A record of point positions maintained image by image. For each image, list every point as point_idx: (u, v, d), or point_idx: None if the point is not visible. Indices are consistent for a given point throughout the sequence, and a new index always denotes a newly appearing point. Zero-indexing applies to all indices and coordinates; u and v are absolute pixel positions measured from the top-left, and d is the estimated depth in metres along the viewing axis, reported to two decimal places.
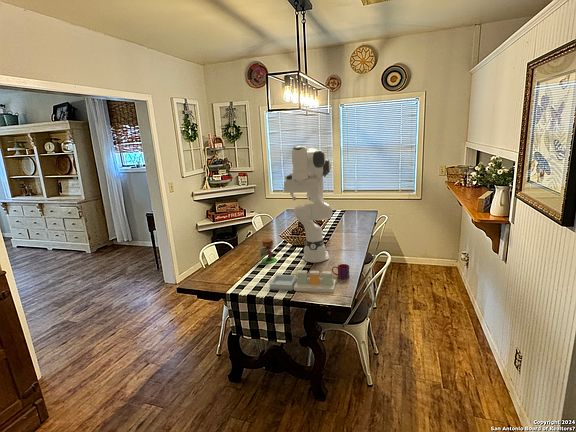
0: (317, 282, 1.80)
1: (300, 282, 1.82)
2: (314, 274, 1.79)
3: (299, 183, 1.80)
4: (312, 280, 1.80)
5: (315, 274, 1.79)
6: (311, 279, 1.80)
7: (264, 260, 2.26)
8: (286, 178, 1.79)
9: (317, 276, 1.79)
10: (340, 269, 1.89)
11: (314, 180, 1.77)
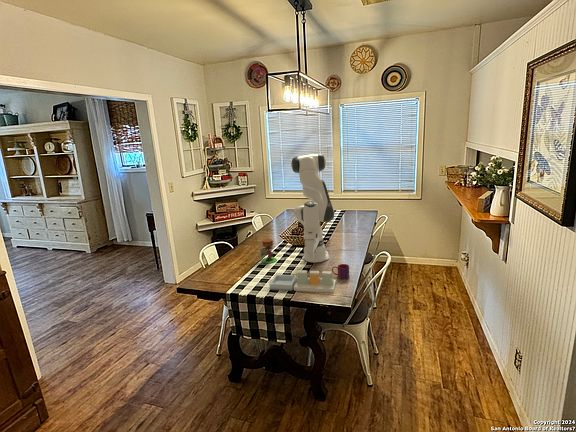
0: (317, 282, 1.80)
1: (300, 282, 1.82)
2: (314, 274, 1.79)
3: (315, 239, 1.74)
4: (312, 280, 1.80)
5: (315, 274, 1.79)
6: (311, 279, 1.80)
7: (264, 260, 2.26)
8: (315, 237, 1.67)
9: (317, 276, 1.79)
10: (340, 269, 1.89)
11: None
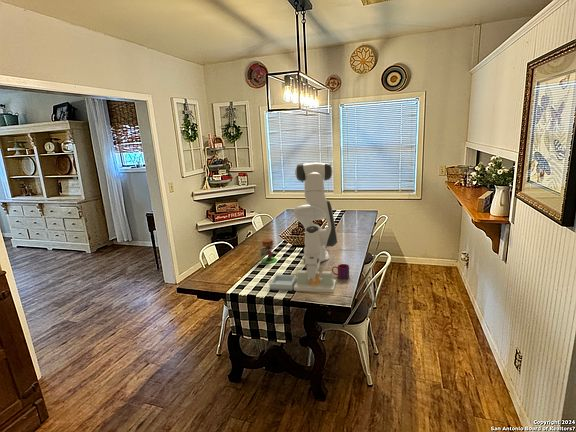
0: (317, 282, 1.80)
1: (300, 282, 1.82)
2: None
3: (316, 263, 1.78)
4: None
5: None
6: (311, 279, 1.80)
7: (264, 260, 2.26)
8: (317, 262, 1.70)
9: (317, 276, 1.79)
10: (340, 269, 1.89)
11: None
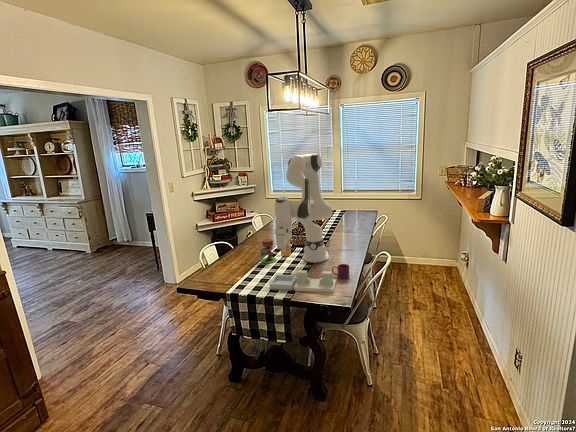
0: (288, 253, 1.80)
1: (300, 282, 1.82)
2: None
3: (286, 234, 1.78)
4: (282, 251, 1.80)
5: (286, 245, 1.79)
6: (282, 250, 1.80)
7: (264, 260, 2.26)
8: (286, 232, 1.70)
9: (288, 247, 1.79)
10: (340, 269, 1.89)
11: None
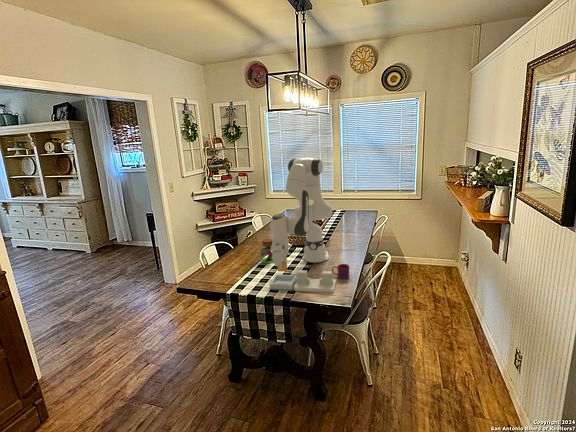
0: (284, 269, 1.82)
1: (300, 282, 1.82)
2: None
3: (283, 250, 1.81)
4: None
5: (282, 261, 1.82)
6: (278, 266, 1.83)
7: (264, 260, 2.26)
8: (282, 249, 1.73)
9: (284, 263, 1.82)
10: (340, 269, 1.89)
11: None
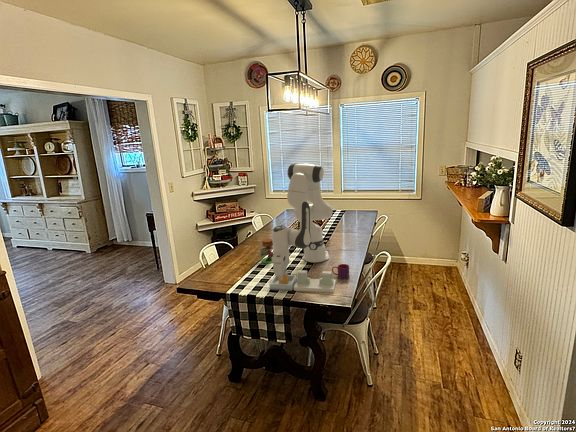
0: (285, 282, 1.85)
1: (300, 282, 1.82)
2: (282, 274, 1.84)
3: (284, 261, 1.82)
4: (280, 280, 1.85)
5: (283, 274, 1.84)
6: (279, 279, 1.85)
7: (264, 260, 2.26)
8: (283, 261, 1.75)
9: (285, 276, 1.84)
10: (340, 269, 1.89)
11: None
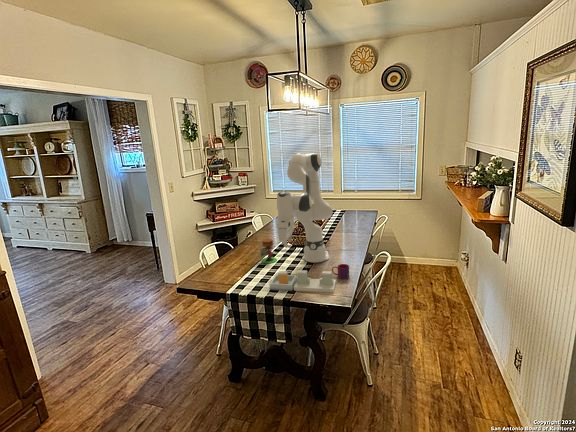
0: (285, 282, 1.85)
1: (300, 282, 1.82)
2: (282, 274, 1.84)
3: (289, 227, 1.80)
4: (280, 280, 1.85)
5: (283, 274, 1.84)
6: (279, 279, 1.85)
7: (264, 260, 2.26)
8: (288, 226, 1.73)
9: (285, 276, 1.84)
10: (340, 269, 1.89)
11: None
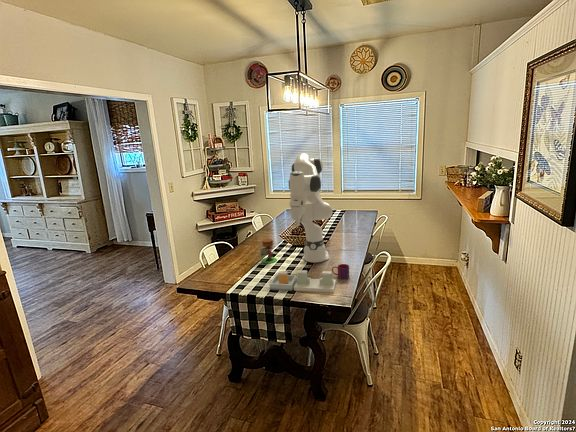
0: (285, 282, 1.85)
1: (300, 282, 1.82)
2: (282, 274, 1.84)
3: (301, 207, 1.83)
4: (280, 280, 1.85)
5: (283, 274, 1.84)
6: (279, 279, 1.85)
7: (264, 260, 2.26)
8: (301, 204, 1.75)
9: (285, 276, 1.84)
10: (340, 269, 1.89)
11: None
